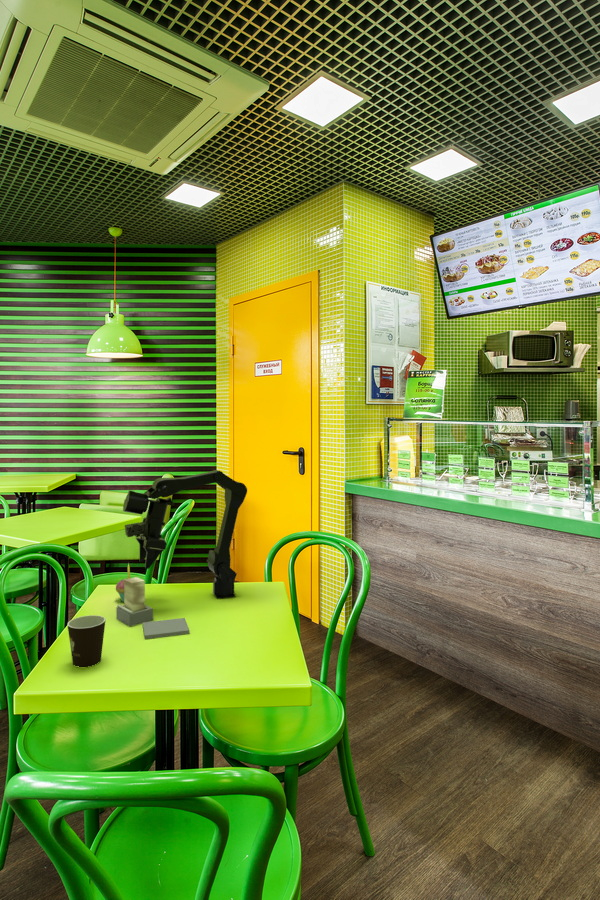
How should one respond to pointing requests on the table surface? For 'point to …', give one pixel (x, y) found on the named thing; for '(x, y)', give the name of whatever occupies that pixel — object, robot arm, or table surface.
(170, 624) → the rubber mat
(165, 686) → the table surface
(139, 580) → the cream square pillar
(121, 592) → the cupcake
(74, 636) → the coffee mug
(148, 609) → the dispenser sleeve
